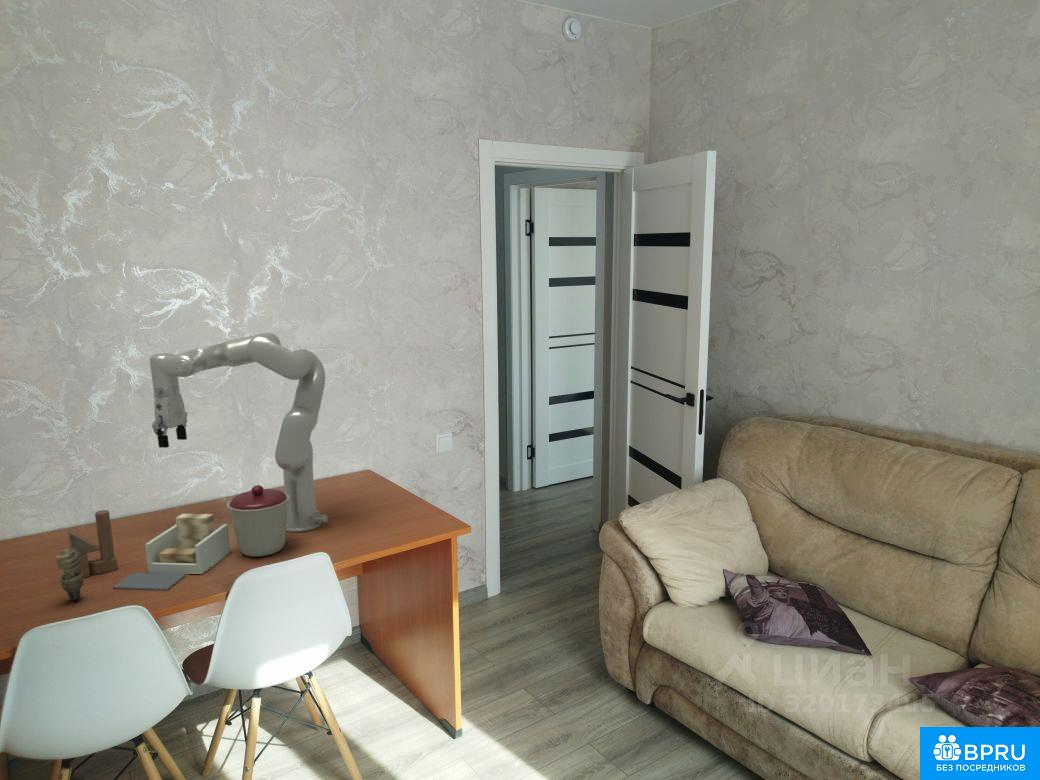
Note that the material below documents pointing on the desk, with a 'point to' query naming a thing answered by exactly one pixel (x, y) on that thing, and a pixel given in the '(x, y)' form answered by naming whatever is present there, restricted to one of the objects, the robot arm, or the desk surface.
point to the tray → (205, 551)
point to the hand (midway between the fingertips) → (173, 443)
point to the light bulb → (70, 572)
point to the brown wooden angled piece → (96, 547)
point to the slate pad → (149, 581)
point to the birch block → (193, 528)
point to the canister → (259, 520)
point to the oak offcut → (178, 555)
